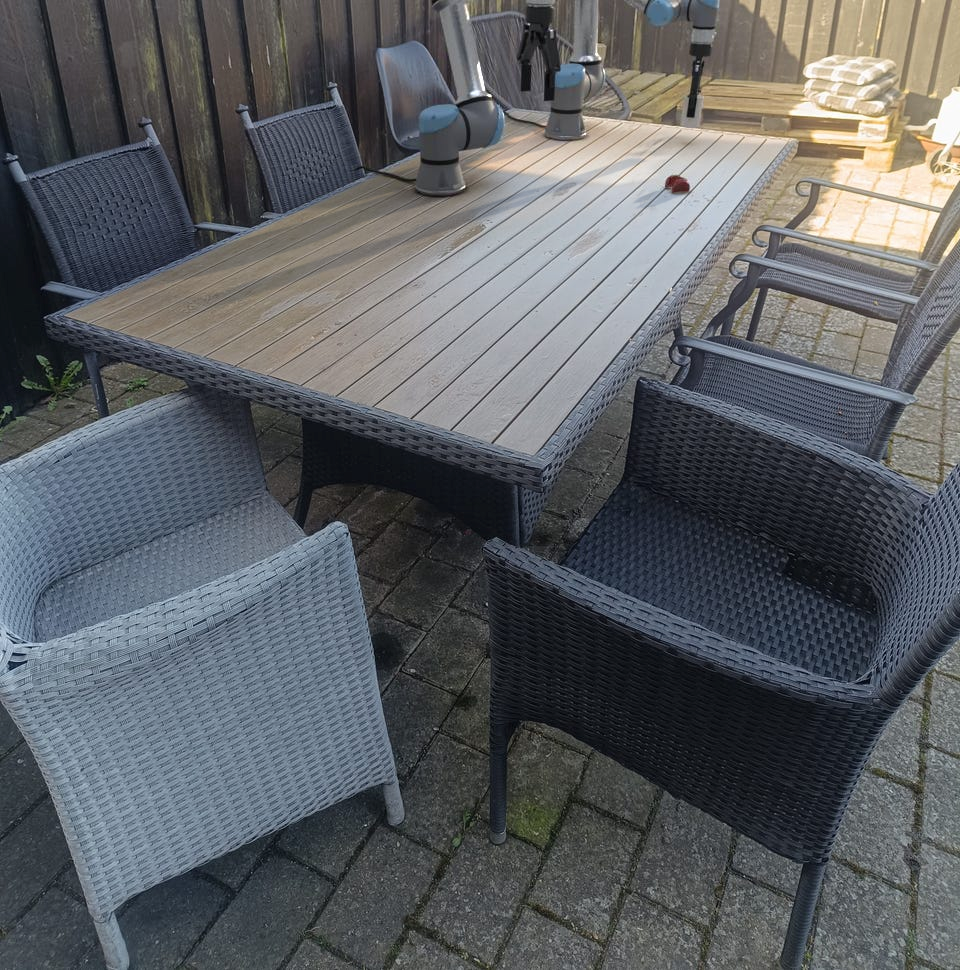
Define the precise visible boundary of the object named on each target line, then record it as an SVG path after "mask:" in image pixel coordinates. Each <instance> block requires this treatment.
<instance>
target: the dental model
mask: <svg viewBox="0 0 960 970" xmlns="http://www.w3.org/2000/svg"><path fill="white" fill-rule="evenodd" d="M664 188H671V189H670V192H672V193H685V192H690V190H691V185H690V183H689V181H688V179H687V178H686V177H684V176H683V177H682V176H680V175H679V174H672V175H670V176H668V177H667V178H666V179H665V183H664Z"/></svg>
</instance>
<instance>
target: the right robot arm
mask: <svg viewBox="0 0 960 970" xmlns="http://www.w3.org/2000/svg"><path fill="white" fill-rule="evenodd" d="M623 1H624V2H625V3H627V4H628V5H629V6H630V7H633V8H634V9H635V10H637V11H639V12H640V13H642V14H643V15H645V16H646V17H647V20H648V22H649V23H650V24H651V25H652V26H656V27H663V26H666V25H668V24H671V23H675V22H691V23H692V28H691V33H690V34H691V35H690V41H691V43H690V44H689V50H688V55H689V56H691V57H695V60H693V61H692V64H691V65H692V66H691V67H692V70H691V81H690V88H689V89H690V90H689V94H687V95H688V96H687V97H689V103H688V110H687V117H689V118H694V117H695V110H696V103H697V95H700V94H701V93H702V89H701V82H702V76H703V73H704V68H705V64H706V60H705V58H708V57H711V56H712V53H713V46H714V45H713V42H714V39H715V36H716V35H717V32H716V26H717V20H718V15H719V8H720V0H623ZM598 25H599V0H573V54H572V56H571V57H570V58H569V59H568V60H569V62H568V63H565V64H564V63H563V64H560V67H561V71H560V72H557V73H556V74H555V93H554V100H553V101H550V114H549V116H548V119H547V122H546V125H545V124H544V125H543V124H540V123H538V122H535V121H530V120H524V119H519V118H516V117H514V116H512V115H510V113H508V112H507V111H505V110H503V109H502V111H503V114H505V115H506V116H507V117H508V118H509V119H511V120H513V121H516V122H519V123H525V124H530V125H534V126H536V127H539V128H542V129H543V128H544V136H545V137H546V138H547V139H550V140H558V141H576V140H581V139H584V138H585V137H586V136H587V129H586V123H585V121H584V117H583V115H584V114H583V108H584V101H585V100H587V99H591V98H593V97H595V96H596V95H597V94H599V93H601V91H602V89H603V88H604V86H605V84H606V72H605V69H604V68H603V65H602V58H601V56H600V55H599V54H598V39H599V38H598V35H599V33H598V32H599V31H598V30H599V26H598Z"/></svg>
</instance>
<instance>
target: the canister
mask: <svg viewBox="0 0 960 970" xmlns="http://www.w3.org/2000/svg"><path fill="white" fill-rule="evenodd" d="M688 95H689V94H685V95H684V97H683V103H682V112H681V118H680V124H679V125H680V126H681V127H683V128H692V129H693V128H698V127H700V124H701V117H702V111H703V104H704V99H705V97H704V96H703V95H701V94H699V95H697V103H696V110H695V117H694V118H689V117H687V110H688V103H689V97H687V96H688Z"/></svg>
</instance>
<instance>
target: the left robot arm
mask: <svg viewBox="0 0 960 970" xmlns="http://www.w3.org/2000/svg"><path fill="white" fill-rule="evenodd" d="M430 1H431V6H432V9H433V10H434V11H436V12H437V14H439V19H440V23H441V28H442V31H443V32H442V33H443V37H444V42H445V46H446V51H447V55H448V60H449V64H450V69H451V73H452V78H453V79H452V80H453V83H454V88H455V93H456V96H457V99H456V101H455V103H454V104H453V103H452V104H449V103H444V104H437V105H432V106H429V107H426V108H425V109H423V110H422V111H421V112H420V114H419V116H418V118H419V119H418V136H419V138H418V139H419V157H420V158H419V159H420V161H419V162H420V164H419V168H418V172H417V176H416V178H407V177H403V176H400V175H398V174H395V173H391V172H386V171H382V172H380V171H381V170H378V169H373V168H371V167H368V166H365V165H358V166H357V167H356V168H355V169H354V170H355V171H359V170H361V169H364V170H366V171H368V172H371V173H374V174H378V175H384V176H388V177H392V178H395V179H398V180H401V181H404V182H409V183H414V182H415V185H414V186H415V192H417V193H418V194H420V195H424V196H430V197H450V196H455V195H459V194H461V193H463V192H464V191H466V181H465V179H464V176H463V172H462V169H461V165H460V152H463V151H469V150H477V149H481V148H482V149H486V148H488V147H492V146H496V145H497V144H498V143H499V142H500V141H501V140H502V137H503V134H504V132H505V124H506V123H505V122H506V121H505V115H504V113H503V111H504V110H503V108H501V106H500V105H499V104H497V103H494V100H493V96H492V95H491V94H490V93H488V92H487V91H486V87H485V82H484V78H483V74H482V68H481V63H480V59H479V58H480V57H479V53H478V50H477V49H478V47H477V44H476V40H475V36H474V35H475V34H474V29H473V26H472V24H473V23H472V21H471V16H470V11H469V3H470V2H471V1H472V0H430ZM525 4H526V6H525V7H524V8H525V10H524V22H525V23H523V26H522V35H521V39H520V43H519V47H518V52H517V56H516V60H517V61H519V64H520V65H521V66H520V92H523V93H524V92H531V90H532V87H531V86H532V63H533V62H532V58H533V57H534V54H535V52H536V50H537V48H538V50H539V51H540V53H541V57H542V60H543V64H544V67H545V71H544V80H543V81H544V83H543V102H551V101H553V100H554V93H555V74H556V73H557V72H560V71H561V67H560V65H561V61H560V55H559V48H558V41H557V30H556V28H554V29H550V25H551V24H553V23H554V22H555V17H556V15H555V14H556V7H555V6H554V4H556V0H525ZM502 110H503V111H502Z"/></svg>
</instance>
